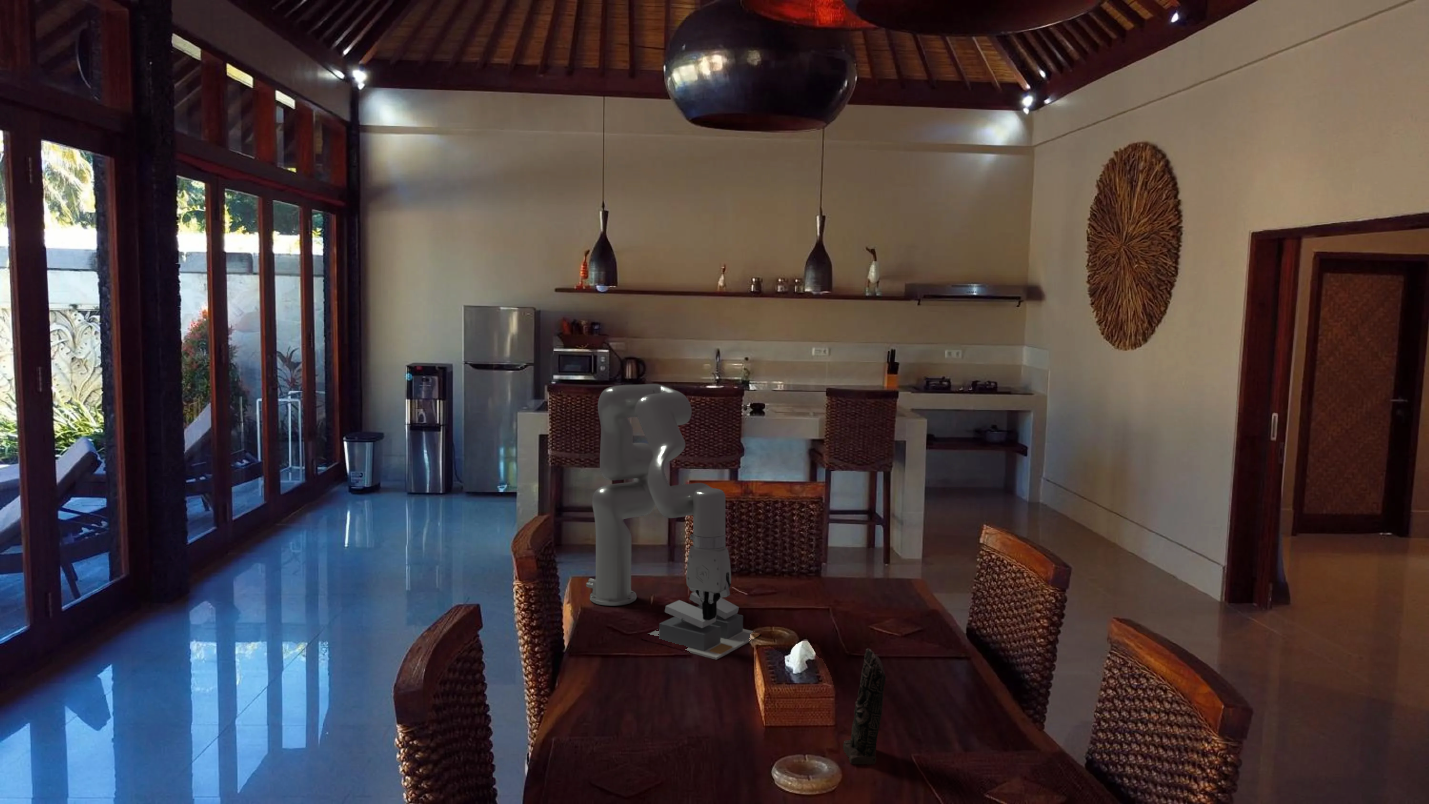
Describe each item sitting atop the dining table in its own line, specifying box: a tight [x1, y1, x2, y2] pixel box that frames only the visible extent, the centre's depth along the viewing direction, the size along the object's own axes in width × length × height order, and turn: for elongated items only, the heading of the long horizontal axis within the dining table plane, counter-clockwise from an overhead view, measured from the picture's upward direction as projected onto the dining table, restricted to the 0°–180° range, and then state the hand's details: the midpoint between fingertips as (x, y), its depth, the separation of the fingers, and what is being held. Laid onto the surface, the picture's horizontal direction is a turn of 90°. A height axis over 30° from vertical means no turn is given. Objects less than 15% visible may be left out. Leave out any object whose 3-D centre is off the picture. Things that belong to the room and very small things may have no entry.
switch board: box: [648, 604, 753, 660], centre depth 241 cm, size 22×20×4 cm
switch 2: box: [689, 592, 740, 619], centre depth 244 cm, size 11×6×2 cm, turn 57°
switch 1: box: [664, 599, 716, 628], centre depth 236 cm, size 11×6×2 cm, turn 57°
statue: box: [842, 648, 887, 765], centre depth 180 cm, size 7×7×20 cm
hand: (709, 618), depth 233 cm, fingers closed
